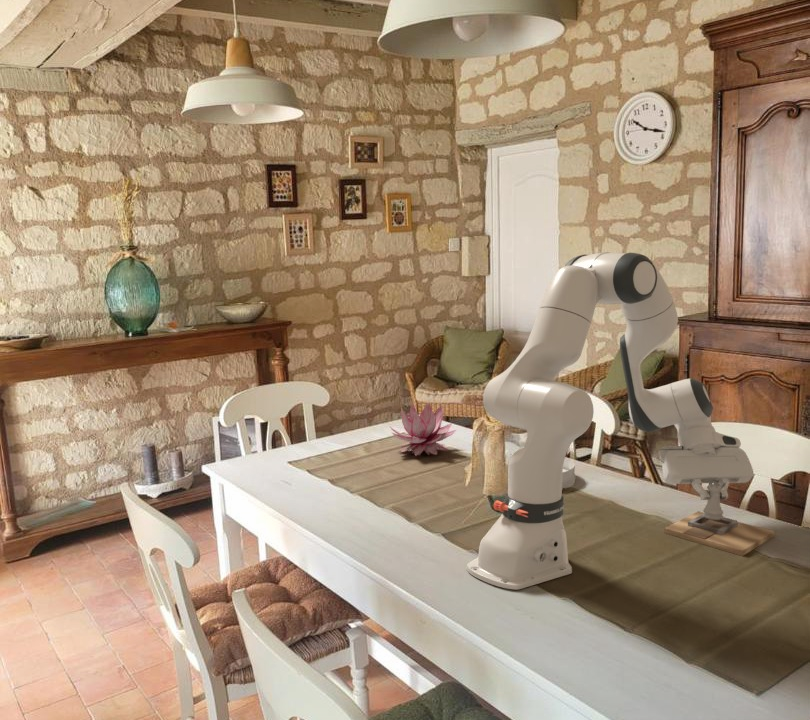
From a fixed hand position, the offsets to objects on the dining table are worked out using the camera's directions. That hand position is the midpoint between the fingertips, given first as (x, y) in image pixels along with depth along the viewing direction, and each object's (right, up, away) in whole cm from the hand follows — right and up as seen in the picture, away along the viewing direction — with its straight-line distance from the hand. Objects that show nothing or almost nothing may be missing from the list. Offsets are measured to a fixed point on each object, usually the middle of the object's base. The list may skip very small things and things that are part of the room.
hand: (715, 498), depth 170 cm
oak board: (+1, -8, 0) cm, 8 cm away
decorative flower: (-65, +2, +71) cm, 97 cm away
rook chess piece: (0, -5, +1) cm, 5 cm away
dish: (-34, -3, +42) cm, 54 cm away
